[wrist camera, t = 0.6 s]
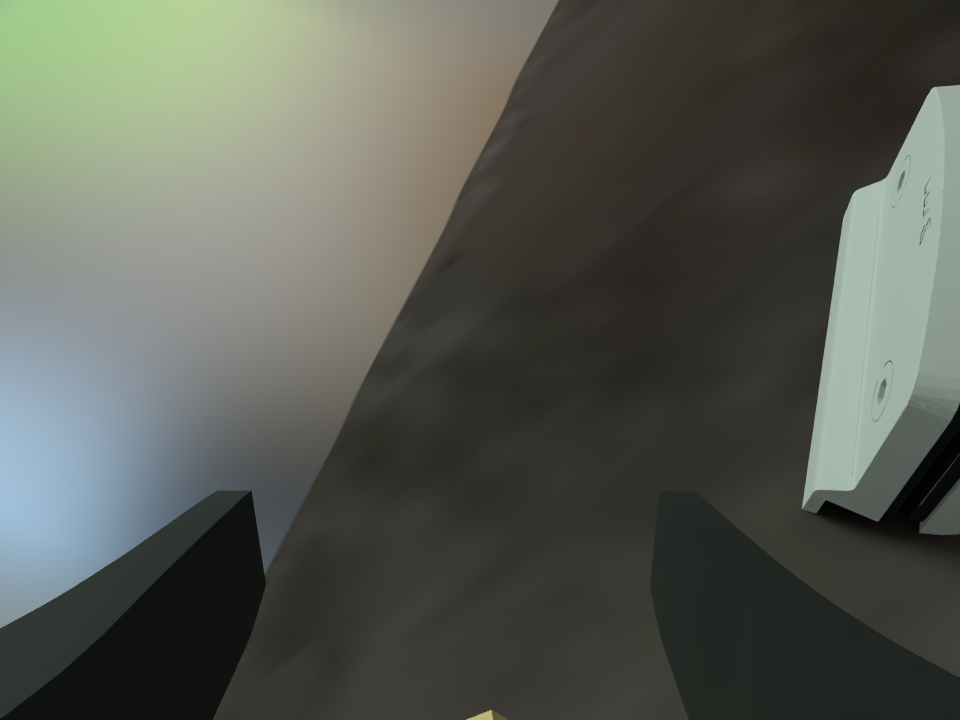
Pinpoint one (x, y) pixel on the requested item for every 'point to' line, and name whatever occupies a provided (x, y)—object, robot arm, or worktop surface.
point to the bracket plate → (488, 716)
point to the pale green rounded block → (897, 339)
